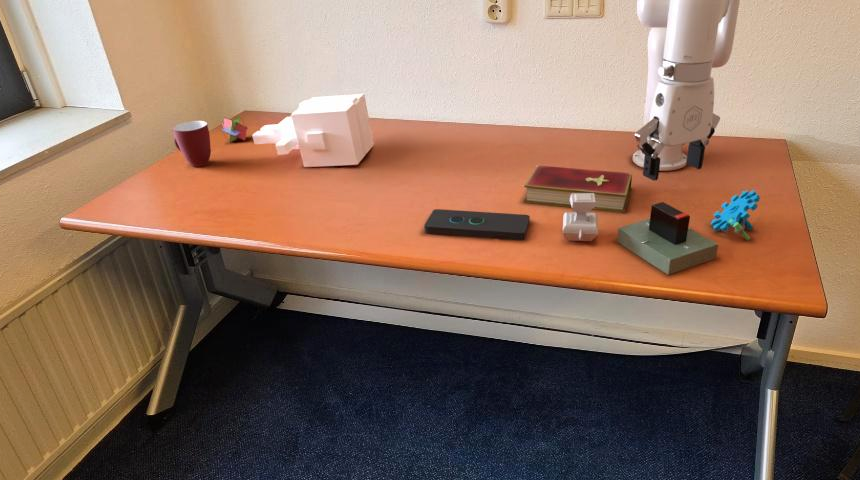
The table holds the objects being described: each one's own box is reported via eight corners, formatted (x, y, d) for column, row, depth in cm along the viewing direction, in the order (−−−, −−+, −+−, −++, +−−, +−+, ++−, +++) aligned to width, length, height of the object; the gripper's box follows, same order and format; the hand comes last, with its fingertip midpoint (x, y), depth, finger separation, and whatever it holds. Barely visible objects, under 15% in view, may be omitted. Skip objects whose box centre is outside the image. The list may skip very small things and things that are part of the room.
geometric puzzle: (258, 129, 182) (238, 106, 180) (246, 137, 177) (225, 113, 174) (243, 143, 186) (223, 120, 183) (231, 152, 180) (209, 128, 178)
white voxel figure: (286, 145, 182) (383, 139, 177) (246, 180, 162) (354, 176, 156) (272, 91, 175) (372, 84, 169) (228, 122, 154) (340, 114, 148)
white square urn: (562, 226, 131) (564, 186, 126) (596, 226, 130) (599, 187, 126) (562, 247, 123) (564, 206, 119) (598, 248, 123) (601, 207, 118)
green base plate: (616, 242, 125) (617, 227, 123) (662, 227, 129) (664, 213, 127) (667, 275, 114) (670, 259, 112) (716, 258, 118) (719, 242, 116)
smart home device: (433, 207, 136) (530, 213, 132) (434, 215, 137) (530, 221, 133) (423, 225, 129) (524, 233, 125) (423, 233, 130) (524, 241, 126)
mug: (168, 167, 166) (157, 129, 161) (189, 156, 173) (178, 119, 167) (203, 171, 163) (192, 132, 158) (223, 159, 170) (213, 121, 164)
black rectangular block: (648, 229, 122) (651, 203, 119) (659, 226, 123) (662, 200, 120) (675, 245, 117) (679, 218, 114) (686, 241, 117) (690, 214, 115)
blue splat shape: (710, 206, 132) (755, 179, 125) (728, 226, 133) (774, 200, 127) (707, 238, 124) (755, 210, 117) (727, 259, 125) (775, 232, 119)
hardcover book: (536, 180, 150) (537, 163, 148) (630, 189, 144) (632, 171, 142) (524, 202, 141) (524, 184, 139) (624, 212, 135) (626, 193, 133)
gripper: (659, 83, 99) (647, 190, 107) (744, 67, 105) (726, 169, 114) (627, 73, 104) (618, 175, 113) (709, 58, 111) (694, 156, 120)
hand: (672, 172), depth 114 cm, fingers open, 9 cm apart
